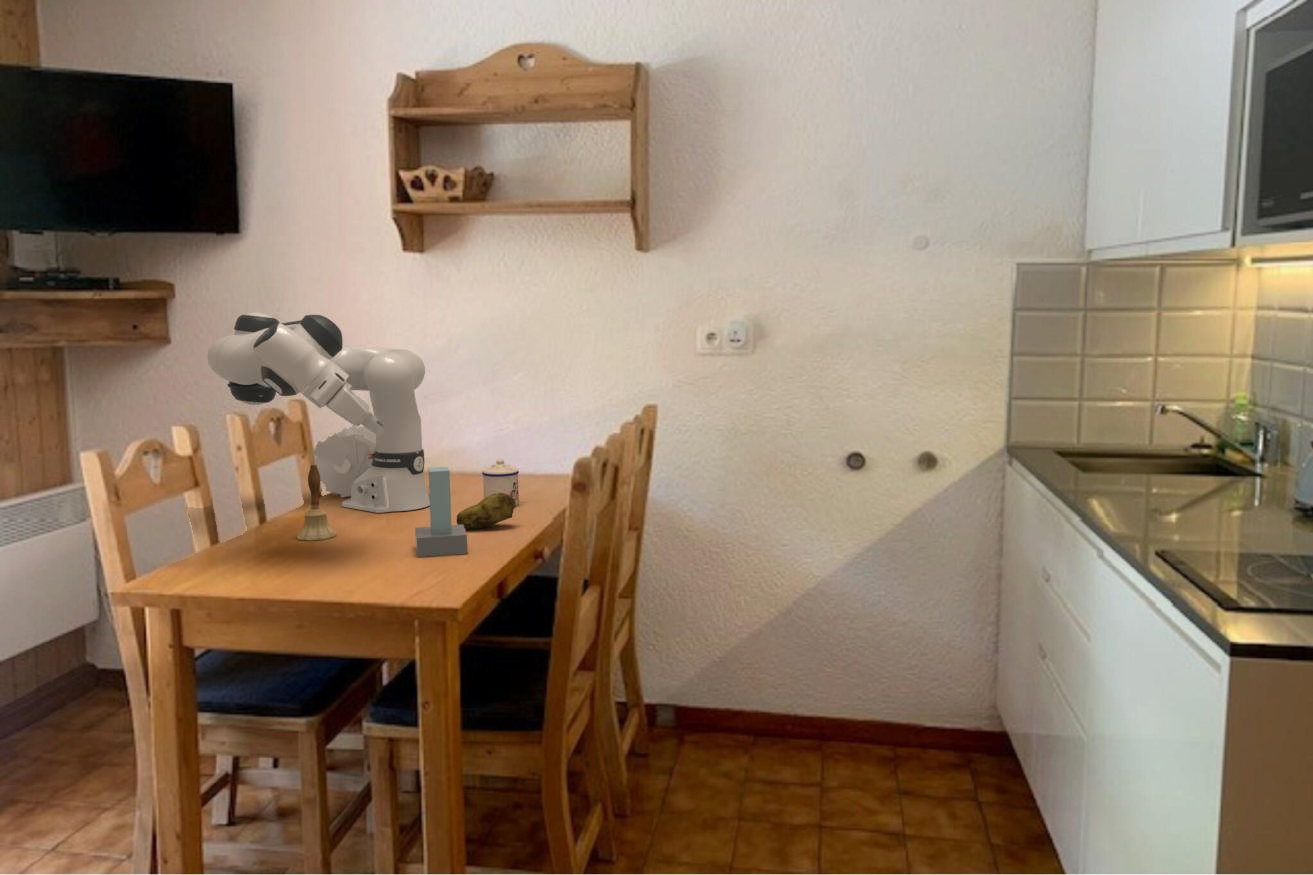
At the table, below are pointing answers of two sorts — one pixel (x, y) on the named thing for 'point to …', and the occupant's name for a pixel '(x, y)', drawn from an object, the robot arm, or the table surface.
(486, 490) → the teacup with lid
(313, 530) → the hand bell
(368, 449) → the spiral staircase
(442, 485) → the teal block
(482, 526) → the potato
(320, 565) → the table surface
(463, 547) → the slate slab
